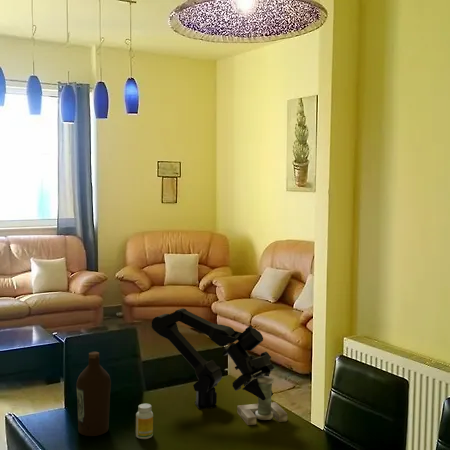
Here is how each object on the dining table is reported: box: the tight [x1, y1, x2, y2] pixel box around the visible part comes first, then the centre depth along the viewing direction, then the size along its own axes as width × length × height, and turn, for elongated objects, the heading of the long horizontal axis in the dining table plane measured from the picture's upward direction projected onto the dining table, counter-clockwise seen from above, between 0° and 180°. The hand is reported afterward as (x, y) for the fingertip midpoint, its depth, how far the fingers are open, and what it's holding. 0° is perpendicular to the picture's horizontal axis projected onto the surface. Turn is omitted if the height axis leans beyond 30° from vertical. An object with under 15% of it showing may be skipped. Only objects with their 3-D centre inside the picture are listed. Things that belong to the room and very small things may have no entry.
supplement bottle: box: [135, 403, 154, 440], centre depth 186 cm, size 5×5×10 cm
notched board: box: [236, 401, 288, 426], centre depth 203 cm, size 14×11×2 cm
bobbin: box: [255, 375, 274, 421], centre depth 200 cm, size 6×6×13 cm
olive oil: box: [75, 351, 112, 437], centre depth 189 cm, size 11×11×25 cm
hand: (268, 397), depth 200 cm, fingers closed on bobbin, 4 cm apart
